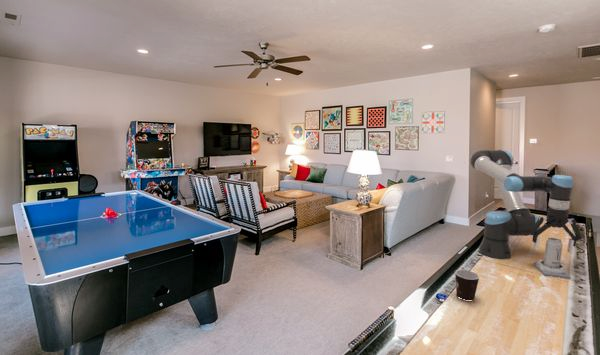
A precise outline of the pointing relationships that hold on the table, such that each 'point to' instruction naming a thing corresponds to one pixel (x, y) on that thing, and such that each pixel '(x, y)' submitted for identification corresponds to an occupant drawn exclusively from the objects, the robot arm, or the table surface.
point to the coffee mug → (466, 284)
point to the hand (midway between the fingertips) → (552, 250)
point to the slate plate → (552, 273)
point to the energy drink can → (553, 253)
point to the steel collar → (559, 270)
